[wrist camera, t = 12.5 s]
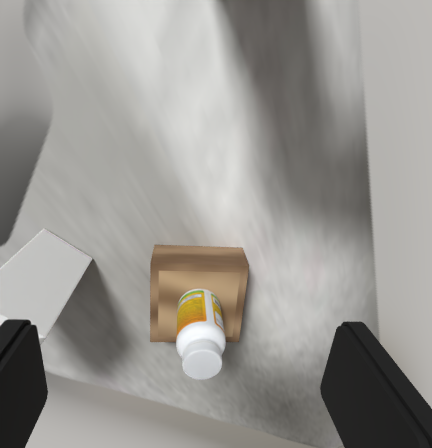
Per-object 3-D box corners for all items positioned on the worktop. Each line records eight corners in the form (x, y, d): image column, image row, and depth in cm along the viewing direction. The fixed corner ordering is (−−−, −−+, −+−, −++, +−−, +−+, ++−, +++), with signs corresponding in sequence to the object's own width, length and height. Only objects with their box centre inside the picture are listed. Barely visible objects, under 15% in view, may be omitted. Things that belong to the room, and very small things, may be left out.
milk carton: (93, 257, 41) (24, 374, 24) (65, 293, 43) (-19, 427, 25) (44, 227, 39) (-72, 331, 22) (16, 265, 41) (-112, 392, 23)
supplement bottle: (171, 314, 40) (166, 378, 31) (187, 281, 38) (187, 338, 29) (209, 326, 41) (215, 390, 32) (226, 294, 39) (238, 353, 30)
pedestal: (154, 244, 41) (150, 263, 37) (242, 247, 43) (249, 266, 38) (154, 317, 46) (150, 342, 41) (233, 318, 47) (238, 342, 42)
